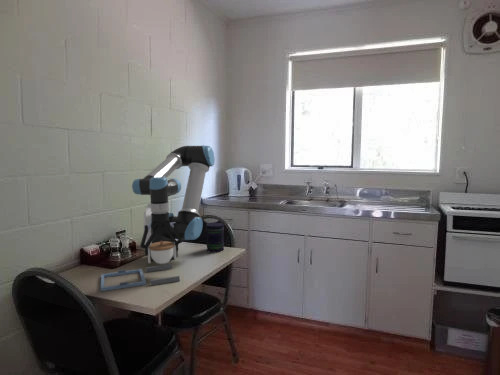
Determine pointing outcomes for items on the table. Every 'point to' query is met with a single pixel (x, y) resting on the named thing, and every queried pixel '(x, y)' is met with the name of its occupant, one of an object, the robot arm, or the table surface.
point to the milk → (148, 220)
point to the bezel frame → (122, 284)
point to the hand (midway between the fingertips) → (162, 260)
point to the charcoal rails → (162, 280)
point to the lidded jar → (161, 251)
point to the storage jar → (215, 237)
